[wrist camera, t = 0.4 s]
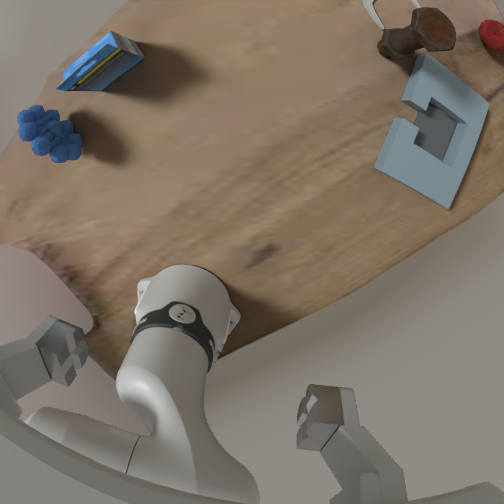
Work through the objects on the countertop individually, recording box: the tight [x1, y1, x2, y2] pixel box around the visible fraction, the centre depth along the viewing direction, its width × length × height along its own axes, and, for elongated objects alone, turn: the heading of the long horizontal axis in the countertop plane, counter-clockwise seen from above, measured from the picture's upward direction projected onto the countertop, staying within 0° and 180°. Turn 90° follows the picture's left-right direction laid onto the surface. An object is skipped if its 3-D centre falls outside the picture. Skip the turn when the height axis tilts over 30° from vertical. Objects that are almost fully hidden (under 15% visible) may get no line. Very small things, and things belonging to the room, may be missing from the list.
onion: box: [479, 20, 504, 51], centre depth 25 cm, size 6×6×8 cm
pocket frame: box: [374, 54, 489, 209], centre depth 36 cm, size 20×14×3 cm
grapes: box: [17, 105, 83, 163], centre depth 34 cm, size 12×7×12 cm, turn 35°
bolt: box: [377, 7, 456, 60], centre depth 26 cm, size 6×5×15 cm
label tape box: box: [54, 31, 145, 91], centre depth 30 cm, size 9×4×12 cm, turn 119°
